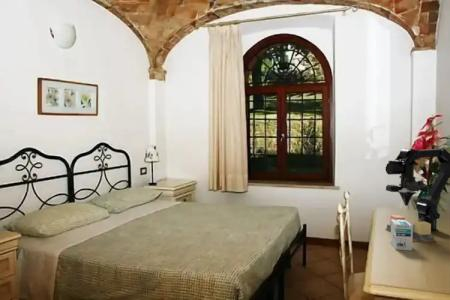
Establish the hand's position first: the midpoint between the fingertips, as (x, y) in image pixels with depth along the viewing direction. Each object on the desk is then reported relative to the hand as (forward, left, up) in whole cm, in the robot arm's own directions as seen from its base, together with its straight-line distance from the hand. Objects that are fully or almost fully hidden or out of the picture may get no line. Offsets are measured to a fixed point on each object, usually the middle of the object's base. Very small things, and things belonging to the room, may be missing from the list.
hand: (406, 205), depth 191 cm
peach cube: (+5, +2, -10) cm, 11 cm away
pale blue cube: (+4, +9, -11) cm, 15 cm away
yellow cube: (0, +15, -10) cm, 18 cm away
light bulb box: (+16, +26, -13) cm, 33 cm away
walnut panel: (+3, +8, -12) cm, 15 cm away
